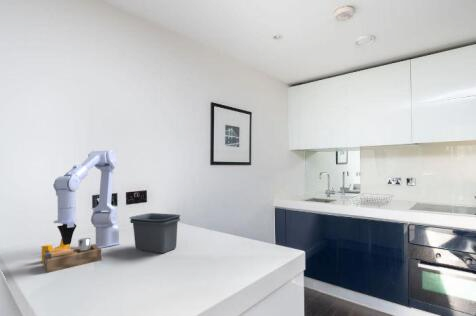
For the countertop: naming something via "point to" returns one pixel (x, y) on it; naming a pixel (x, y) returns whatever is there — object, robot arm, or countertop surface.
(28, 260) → the countertop surface
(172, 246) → the storage bin
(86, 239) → the peg
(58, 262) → the wooden box
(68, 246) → the pipe clamp
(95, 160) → the robot arm
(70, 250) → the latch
